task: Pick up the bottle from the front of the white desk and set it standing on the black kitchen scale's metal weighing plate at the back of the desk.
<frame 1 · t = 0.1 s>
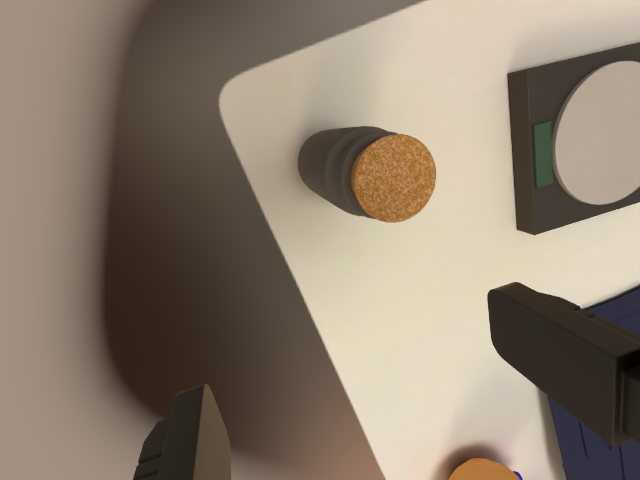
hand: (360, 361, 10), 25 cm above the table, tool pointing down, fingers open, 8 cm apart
scale: (578, 138, 39), on the table
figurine: (469, 468, 49), on the table
bottle: (328, 163, 34), on the table
papers: (616, 386, 51), on the table
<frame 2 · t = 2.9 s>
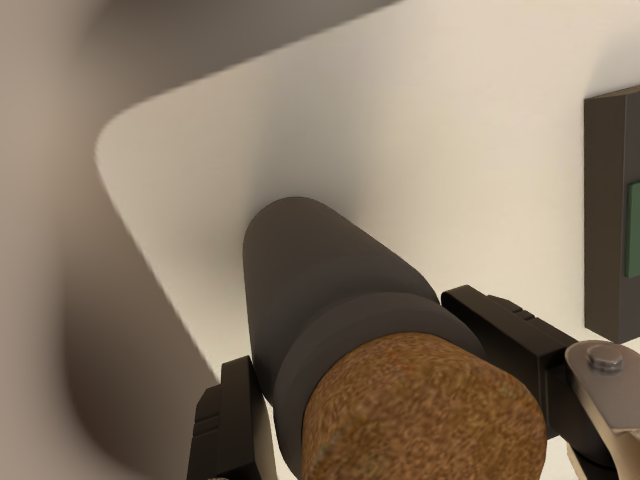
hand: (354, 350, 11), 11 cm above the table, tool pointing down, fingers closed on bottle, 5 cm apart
bottle: (295, 247, 21), on the table, touching gripper
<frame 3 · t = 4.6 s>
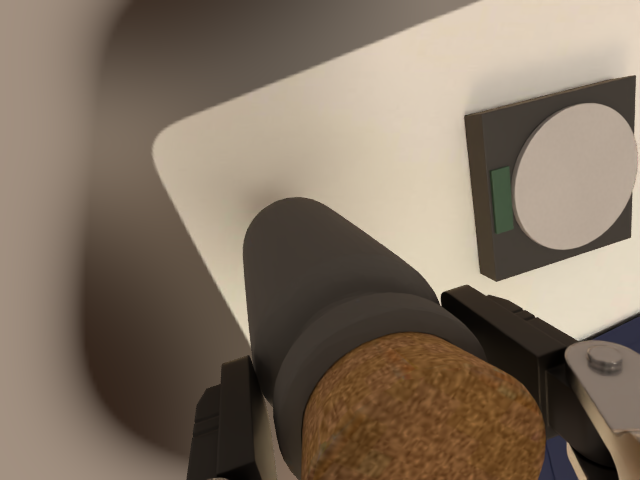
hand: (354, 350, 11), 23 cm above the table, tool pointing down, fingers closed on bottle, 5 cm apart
scale: (543, 179, 37), on the table
bottle: (295, 247, 21), point 12 cm above the table, touching gripper
papers: (592, 427, 49), on the table
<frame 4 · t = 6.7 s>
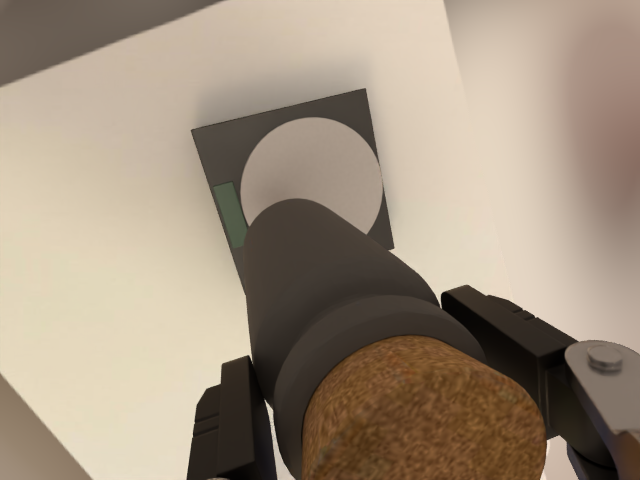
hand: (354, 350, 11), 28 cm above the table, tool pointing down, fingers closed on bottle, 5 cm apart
scale: (298, 191, 37), on the table
bottle: (295, 248, 21), point 17 cm above the table, touching gripper
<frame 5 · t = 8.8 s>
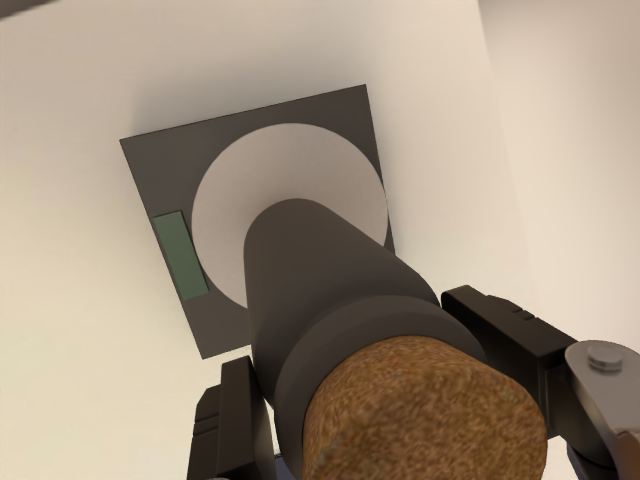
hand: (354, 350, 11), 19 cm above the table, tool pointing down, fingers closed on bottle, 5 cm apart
scale: (276, 221, 28), on the table
bottle: (295, 248, 21), point 8 cm above the table, touching gripper
when the fingers open (14 cm above the table, at t = 10.6 s): bottle stays where it is, resting on scale.
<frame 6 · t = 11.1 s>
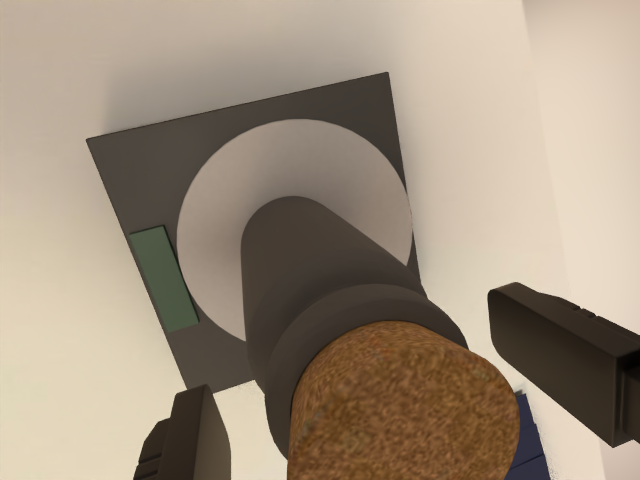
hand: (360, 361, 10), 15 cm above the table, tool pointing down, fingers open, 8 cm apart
scale: (279, 235, 24), on the table
bottle: (291, 245, 21), point 3 cm above the table, touching scale
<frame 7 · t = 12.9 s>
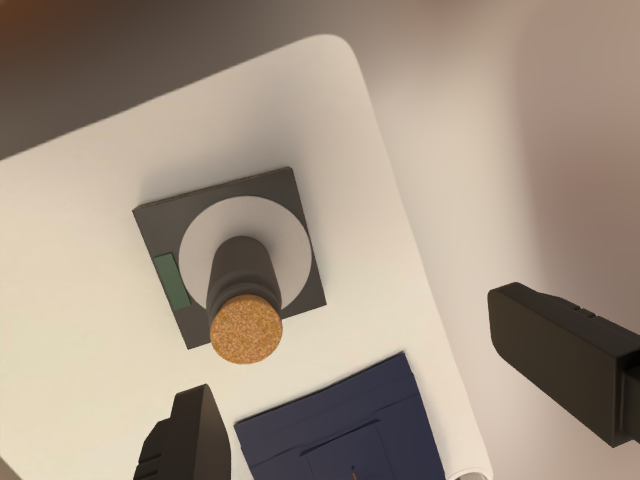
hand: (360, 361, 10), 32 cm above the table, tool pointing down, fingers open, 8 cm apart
scale: (238, 255, 41), on the table
bottle: (241, 261, 39), point 3 cm above the table, touching scale
papers: (350, 465, 53), on the table
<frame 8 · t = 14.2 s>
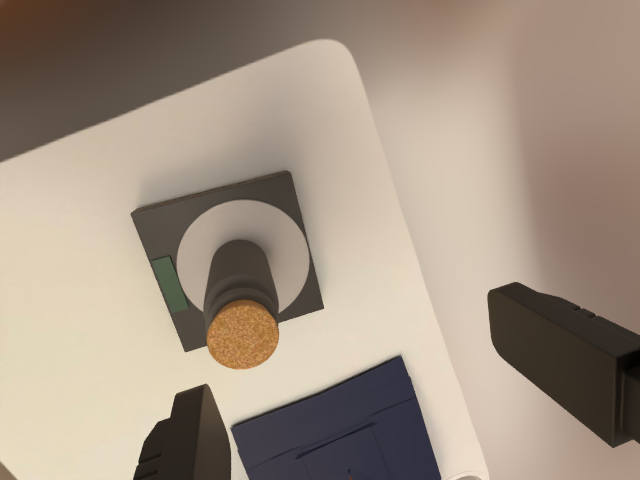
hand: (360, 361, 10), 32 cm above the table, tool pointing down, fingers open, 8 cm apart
scale: (236, 258, 41), on the table
bottle: (239, 265, 39), point 3 cm above the table, touching scale
papers: (347, 468, 53), on the table
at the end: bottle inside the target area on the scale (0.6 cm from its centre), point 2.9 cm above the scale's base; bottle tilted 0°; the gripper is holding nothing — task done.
